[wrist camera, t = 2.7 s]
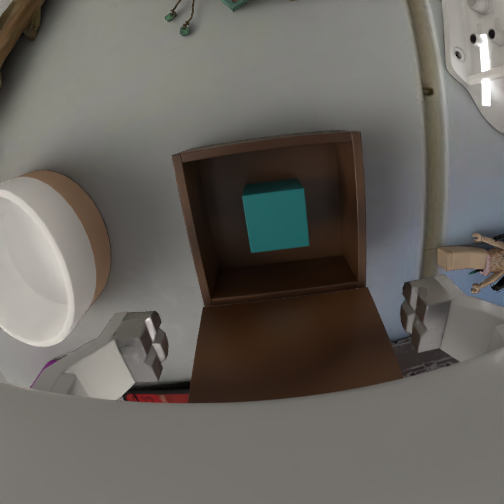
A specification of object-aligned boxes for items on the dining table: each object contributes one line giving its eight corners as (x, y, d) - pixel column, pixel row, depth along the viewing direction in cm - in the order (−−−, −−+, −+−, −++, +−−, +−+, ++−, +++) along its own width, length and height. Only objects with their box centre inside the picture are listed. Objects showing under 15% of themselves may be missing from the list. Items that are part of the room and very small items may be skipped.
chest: (190, 148, 27) (171, 155, 21) (339, 129, 25) (360, 131, 20) (214, 273, 31) (204, 307, 26) (347, 257, 30) (365, 287, 24)
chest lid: (179, 462, 14) (200, 481, 16) (422, 434, 13) (403, 458, 15) (202, 306, 25) (214, 341, 27) (367, 286, 24) (363, 323, 26)
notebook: (221, 389, 34) (264, 465, 42) (223, 375, 36) (265, 454, 44) (114, 394, 37) (177, 466, 45) (120, 383, 39) (179, 456, 47)
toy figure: (433, 294, 32) (520, 270, 30) (456, 319, 26) (547, 287, 24) (432, 235, 30) (522, 218, 28) (459, 252, 24) (552, 229, 22)
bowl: (48, 321, 35) (17, 358, 27) (-14, 212, 29) (-56, 235, 21) (140, 281, 32) (109, 326, 24) (65, 139, 26) (12, 149, 18)
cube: (244, 184, 27) (241, 195, 23) (297, 177, 27) (304, 188, 22) (252, 233, 29) (250, 253, 25) (302, 227, 28) (309, 246, 24)
